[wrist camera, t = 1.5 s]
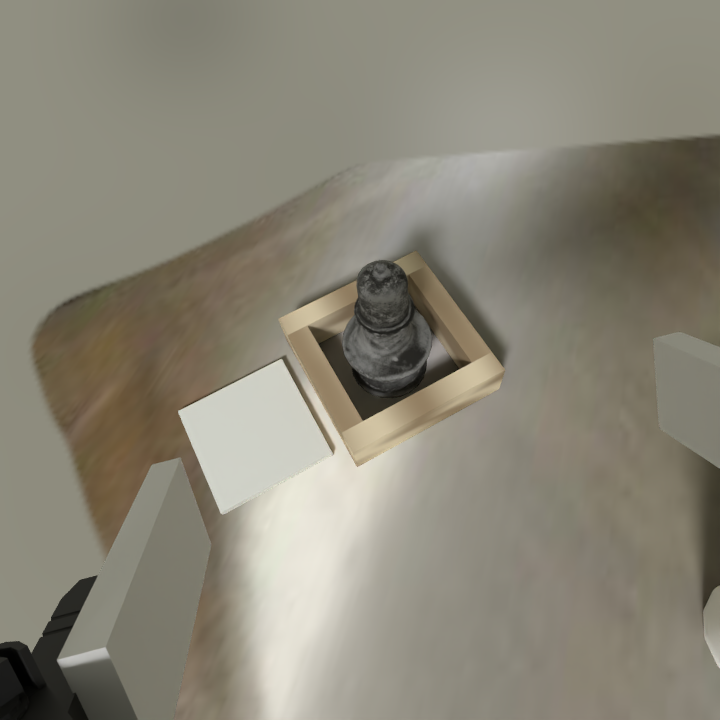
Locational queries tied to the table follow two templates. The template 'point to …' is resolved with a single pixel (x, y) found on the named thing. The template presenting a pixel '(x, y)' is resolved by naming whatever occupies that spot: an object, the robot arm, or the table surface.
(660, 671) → the table surface
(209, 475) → the white mat
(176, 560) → the robot arm
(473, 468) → the table surface
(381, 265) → the dark chess piece
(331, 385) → the wooden square frame
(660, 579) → the table surface
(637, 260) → the table surface
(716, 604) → the foam cup
